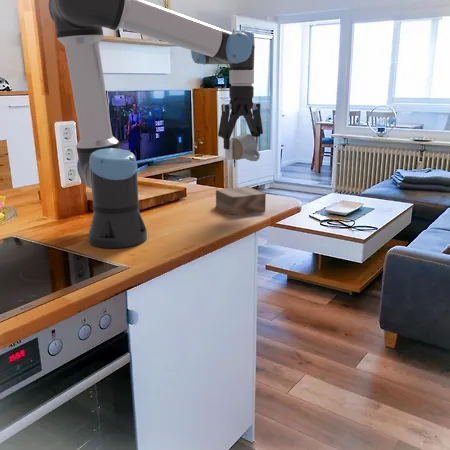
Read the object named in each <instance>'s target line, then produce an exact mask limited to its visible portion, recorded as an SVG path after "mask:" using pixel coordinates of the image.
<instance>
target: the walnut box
mask: <svg viewBox="0 0 450 450" xmlns="http://www.w3.org/2000/svg"><path fill="white" fill-rule="evenodd" d="M266 196H267V195H266V192H262V191H260V190H258V189H255V188H252V187H250V186H242V187H231V188H230V187H229V188H223V189H216V190H215V207H216V208H218V209H220V210H222V211H224V212H226V213H228V214H229V215H232V216H236V215H237V216H238V215H243V214H251V213H259V212H265V211H266V202H267V201H266Z"/></svg>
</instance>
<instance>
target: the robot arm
mask: <svg viewBox="0 0 450 450" xmlns="http://www.w3.org/2000/svg"><path fill="white" fill-rule="evenodd" d="M48 11H49V15H50V17H51V20H52V21H53V23H54V28H55V33H56V38H57V39H56V40H57V41H58V42H59V43H60V44H62V45H63V46H64V49H65V56H66V61H67V67H68V73H69V74H68V75H69V79H70V84H71V85H70V86H71V90H72V96H73V102H74V109H75V112H76V113H75V114H76V119H77V120H76V121H77V124H78V125H77V126H78V131H79V137H80V139H79V141H78V142H77V143H76V145H75V147H76V152H77V153H76V154H77V163H76V165H77V166H76V169H77V174H78V176H79V178H80V180H81V181H82V183H84V184H85V186H87V187H89V188H90V189H91V195H92V205H93V215H92V219H91V222H90V227H89V229H88V230H89V231H88V242H89V244H90V245H92V246H94V247H96V248H103V249H121V248H122V249H123V248H129V247H134V246H137V245H140V244H142V243H143V242H145V241H146V240H147V238H148V231H147V228H146V225H145V222H144V220H143V217H142V214H141V212H140V206H139V205H140V204H139V188H138V187H139V186H138V185H139V184H138V164H137V158H136V156H135V154H134V153H133V152H131V150H127V149H122V148H121V146H120V141H119V140H118V139H117V137H115V136H114V135H113V129H112V124H111V117H110V111H109V105H108V104H109V103H108V97H107V91H106V85H105V77H104V71H103V70H104V69H103V64H102V58H101V50H100V42H102V40H103V38H104V32H103V30H104V29H103V28H105V29H110V30H112V31H118V30H119V29H124V30H127V31H130V32H132V33H136V34H140V35H142V36H145V37H148V38H152V39H155V40H159V41H161V42H164V43H168V44H171V45H174V46H176V47H178V48H179V47H180V48H183V49H185V50H189V51H190V56H191V58H192V61H193V62H194V64H198V65H203V66H205V65H228V67H229V68H228V69H229V77H228V78H229V84H230V86H228V87H229V88H228V90H229V93H228V94H229V95H228V96H229V99H230V100H229V103H226V104H224V103H223V104H221V115H220V121H219V127H218V131H217V132H218V133H217V136H218V138H219V137H220V138H221V139H223V149H224V150H225V153H224V155H225V157H224V158H225V160H229V161H233V159H232V139H231V138H232V135H233V132H234V129H235V126H236V124H237V122H238V119H239V118H240V117H243V118H244V119H245V123H246V125H247V128H248V129H249V130H248V131H249V132H250V133H249V134H250V135H252V136H253V137H254V138H255V140H256V142H257V146H258V138H259V137H260V136H261V135H263V134H264V130H263V129H264V128H263V123H262V117H261V115H262V114H261V104H260V103H259V102H254V101H253V98H254V86H253V84H254V82H255V48H256V46H255V34H254V33H253V32H252V30H251V31H250V30H233V31H228V30H225V29H223V28H220V27H217V26H215V25H212V24H209V23H207V22H204V21H201V20H197V19H196V18H192V17H191V16H187V15H185V14H182V13H178V12H176V11H174V10H171V9H168V8H165V7H162V6H160V5H156V4H154V3H151V2H149V1H146V0H48ZM253 157H257V156H256V155H254V156H253Z"/></svg>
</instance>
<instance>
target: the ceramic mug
mask: <svg viewBox="0 0 450 450" xmlns="http://www.w3.org/2000/svg"><path fill="white" fill-rule="evenodd" d="M230 139H232V160H237V161H238V160H243V159H245V160H248V161H250V162H257V161H259V160H260V157H261V154H260V152H259V151H258V145H257V142H256V140H255V138H254V137H253V136H252V135H251V133H244V134H240V135H239V134H238V135H236V136H232V137H230ZM254 155H256V157H253V156H254Z"/></svg>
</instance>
